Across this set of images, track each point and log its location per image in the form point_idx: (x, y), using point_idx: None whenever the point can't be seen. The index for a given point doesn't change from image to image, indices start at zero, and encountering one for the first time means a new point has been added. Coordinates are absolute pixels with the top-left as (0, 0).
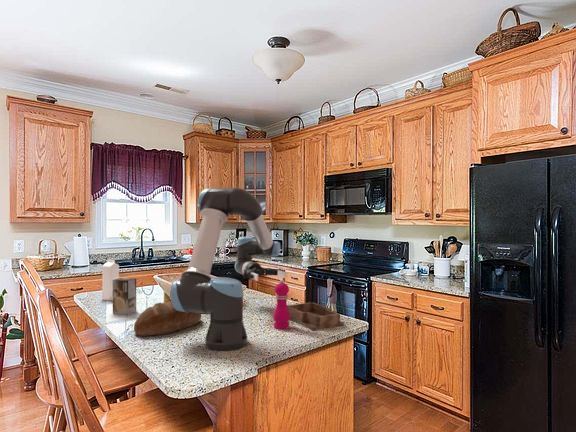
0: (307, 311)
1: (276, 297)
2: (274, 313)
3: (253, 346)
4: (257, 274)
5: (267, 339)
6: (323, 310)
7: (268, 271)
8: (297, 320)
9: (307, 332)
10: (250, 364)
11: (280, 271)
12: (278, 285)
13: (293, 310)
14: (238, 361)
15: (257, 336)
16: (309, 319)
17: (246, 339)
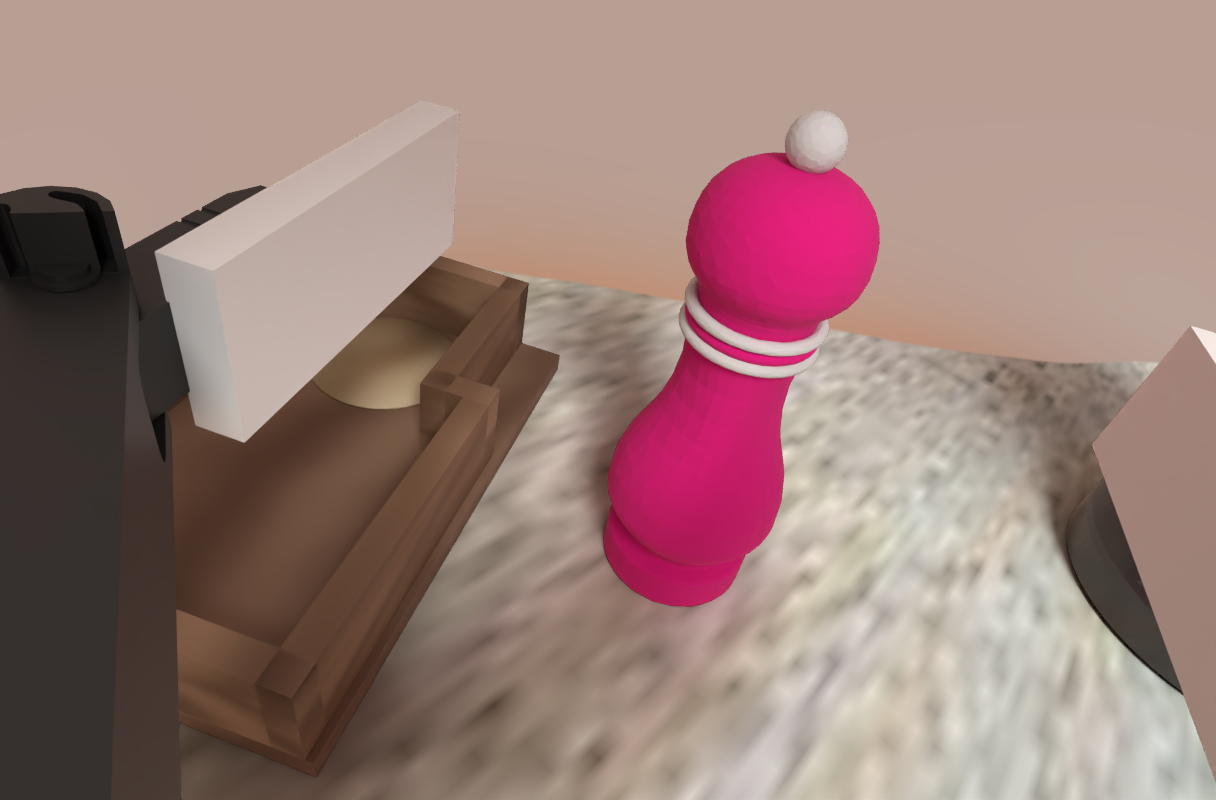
0: None
1: (814, 350)
2: (782, 484)
3: (1044, 464)
4: (1213, 345)
5: (918, 473)
6: None
7: (137, 767)
8: (461, 509)
9: (614, 376)
10: (1112, 367)
11: (348, 193)
12: (865, 194)
13: (420, 515)
14: None
15: (959, 551)
16: (480, 380)
17: (1103, 478)
